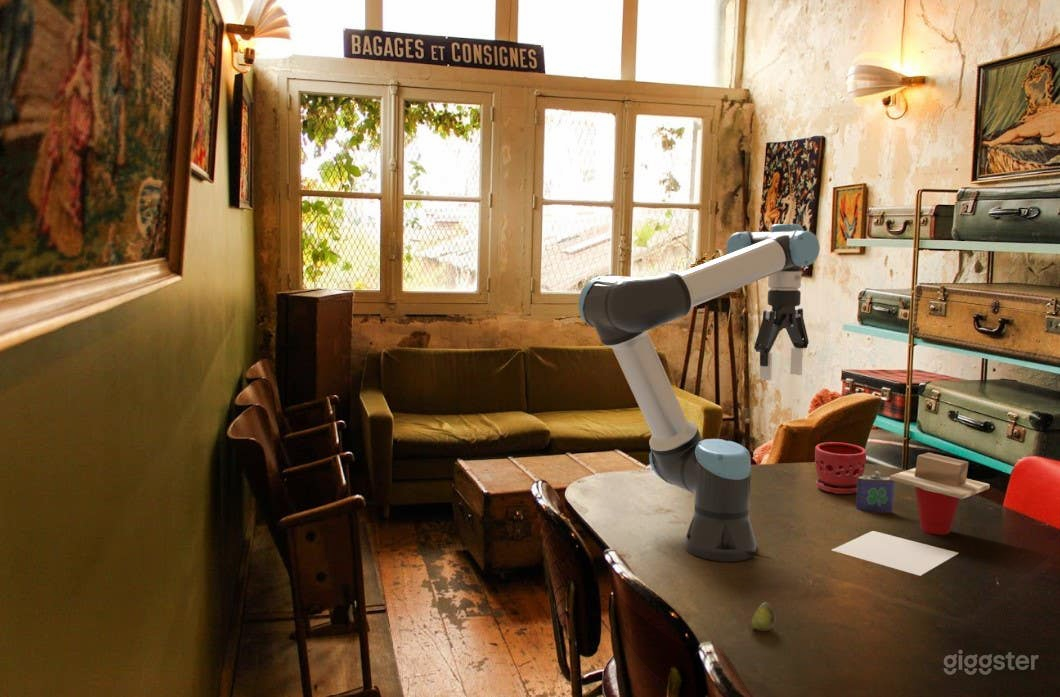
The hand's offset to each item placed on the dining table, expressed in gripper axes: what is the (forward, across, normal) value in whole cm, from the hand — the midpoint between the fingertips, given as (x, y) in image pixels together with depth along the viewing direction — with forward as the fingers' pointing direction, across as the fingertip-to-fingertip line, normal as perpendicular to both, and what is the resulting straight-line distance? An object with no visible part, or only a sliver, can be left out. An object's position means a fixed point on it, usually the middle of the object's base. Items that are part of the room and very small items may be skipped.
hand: (781, 377), depth 202 cm
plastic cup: (+35, +16, -32) cm, 50 cm away
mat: (+35, -5, -32) cm, 47 cm away
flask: (+35, +21, -15) cm, 43 cm away
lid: (+23, +16, -32) cm, 42 cm away
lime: (+35, -57, -33) cm, 75 cm away
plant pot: (+35, +33, +1) cm, 48 cm away
